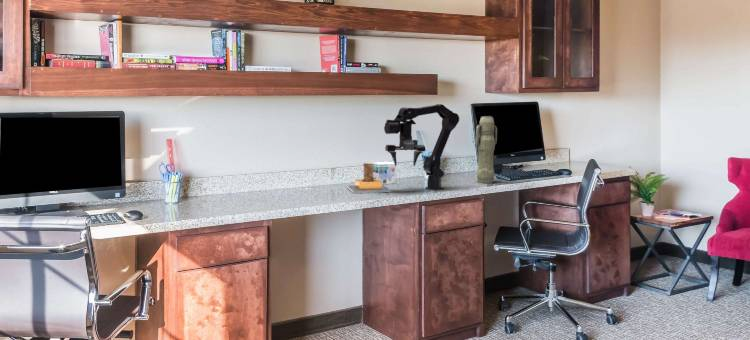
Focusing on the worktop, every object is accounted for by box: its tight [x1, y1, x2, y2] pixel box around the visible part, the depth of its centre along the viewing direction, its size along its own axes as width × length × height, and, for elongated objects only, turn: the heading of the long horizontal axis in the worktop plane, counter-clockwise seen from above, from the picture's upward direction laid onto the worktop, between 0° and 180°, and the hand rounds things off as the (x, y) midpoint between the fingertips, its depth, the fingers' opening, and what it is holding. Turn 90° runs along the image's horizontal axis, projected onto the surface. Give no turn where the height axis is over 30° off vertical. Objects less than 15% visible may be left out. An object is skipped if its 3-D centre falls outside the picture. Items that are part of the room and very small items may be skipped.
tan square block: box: [363, 162, 374, 182], centre depth 341 cm, size 4×4×12 cm
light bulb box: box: [372, 161, 396, 185], centre depth 367 cm, size 11×7×11 cm, turn 123°
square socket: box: [346, 178, 392, 194], centre depth 342 cm, size 18×18×5 cm
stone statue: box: [475, 115, 498, 185], centre depth 370 cm, size 9×12×35 cm
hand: (404, 165), depth 341 cm, fingers open, 9 cm apart
